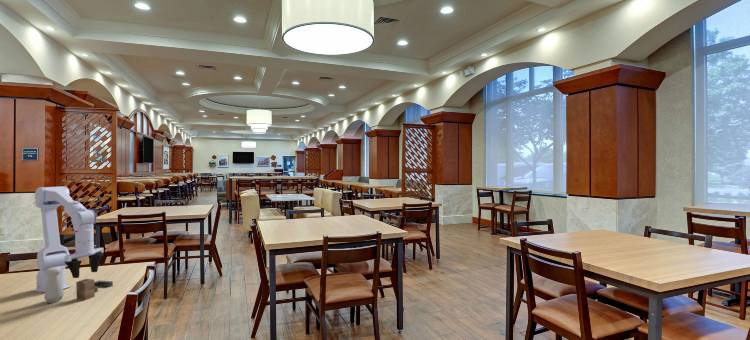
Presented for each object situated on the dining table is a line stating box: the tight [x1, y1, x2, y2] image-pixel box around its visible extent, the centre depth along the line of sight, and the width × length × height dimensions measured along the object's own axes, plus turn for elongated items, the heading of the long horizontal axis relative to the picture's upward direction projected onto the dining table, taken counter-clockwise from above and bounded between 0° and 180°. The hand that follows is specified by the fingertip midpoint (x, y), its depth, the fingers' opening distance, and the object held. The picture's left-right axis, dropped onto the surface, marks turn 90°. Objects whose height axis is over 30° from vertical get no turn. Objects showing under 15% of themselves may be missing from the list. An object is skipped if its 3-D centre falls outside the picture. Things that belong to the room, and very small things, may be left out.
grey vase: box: [43, 267, 65, 304], centre depth 142 cm, size 6×6×13 cm
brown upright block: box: [75, 278, 96, 301], centre depth 146 cm, size 4×4×7 cm
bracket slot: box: [94, 279, 114, 293], centre depth 157 cm, size 7×9×2 cm
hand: (85, 274), depth 145 cm, fingers open, 7 cm apart
